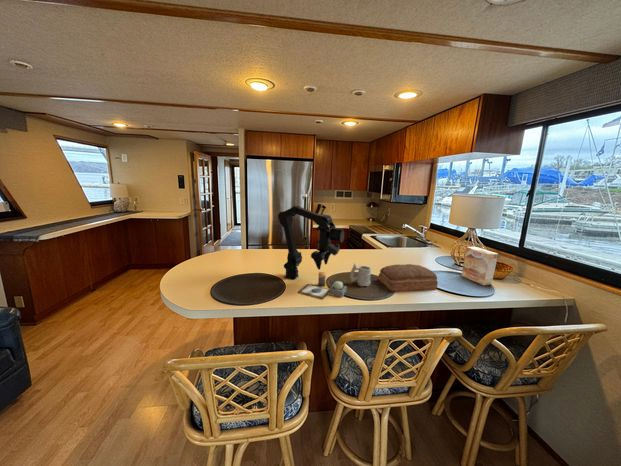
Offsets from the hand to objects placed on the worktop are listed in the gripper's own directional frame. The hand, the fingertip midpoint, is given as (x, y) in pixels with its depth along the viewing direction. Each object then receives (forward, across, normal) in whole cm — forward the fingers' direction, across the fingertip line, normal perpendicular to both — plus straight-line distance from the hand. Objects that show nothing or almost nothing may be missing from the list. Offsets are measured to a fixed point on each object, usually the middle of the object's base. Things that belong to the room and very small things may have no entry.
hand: (322, 266), depth 132 cm
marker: (+11, 0, 0) cm, 11 cm away
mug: (+11, +13, -18) cm, 25 cm away
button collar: (+11, -4, -11) cm, 16 cm away
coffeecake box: (+11, +57, -80) cm, 99 cm away
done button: (+9, -4, -11) cm, 15 cm away
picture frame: (+11, -9, 0) cm, 14 cm away
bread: (+11, +27, -42) cm, 51 cm away
